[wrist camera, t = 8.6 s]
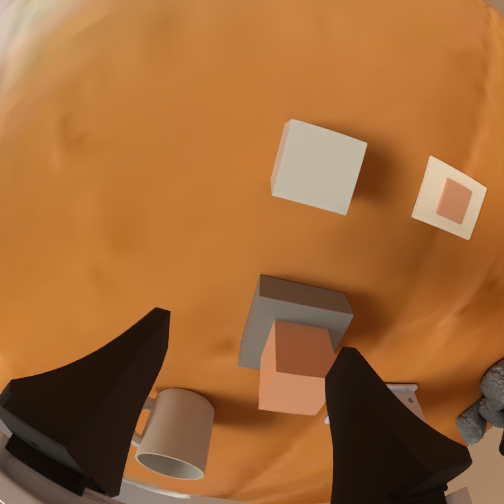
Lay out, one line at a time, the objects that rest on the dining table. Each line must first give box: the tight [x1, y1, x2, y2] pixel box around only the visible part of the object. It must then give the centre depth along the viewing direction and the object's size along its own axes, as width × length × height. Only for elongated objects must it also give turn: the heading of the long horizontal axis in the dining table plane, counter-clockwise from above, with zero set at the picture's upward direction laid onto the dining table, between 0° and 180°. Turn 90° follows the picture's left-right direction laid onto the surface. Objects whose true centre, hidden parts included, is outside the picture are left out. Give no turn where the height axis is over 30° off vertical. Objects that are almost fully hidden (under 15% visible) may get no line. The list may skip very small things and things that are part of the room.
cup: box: [131, 388, 214, 480], centre depth 24 cm, size 7×10×9 cm
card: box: [411, 156, 487, 240], centre depth 18 cm, size 7×5×1 cm
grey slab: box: [238, 275, 354, 370], centre depth 21 cm, size 7×7×3 cm
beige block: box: [271, 119, 367, 215], centre depth 15 cm, size 4×4×5 cm
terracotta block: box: [259, 319, 336, 415], centre depth 18 cm, size 4×4×5 cm
